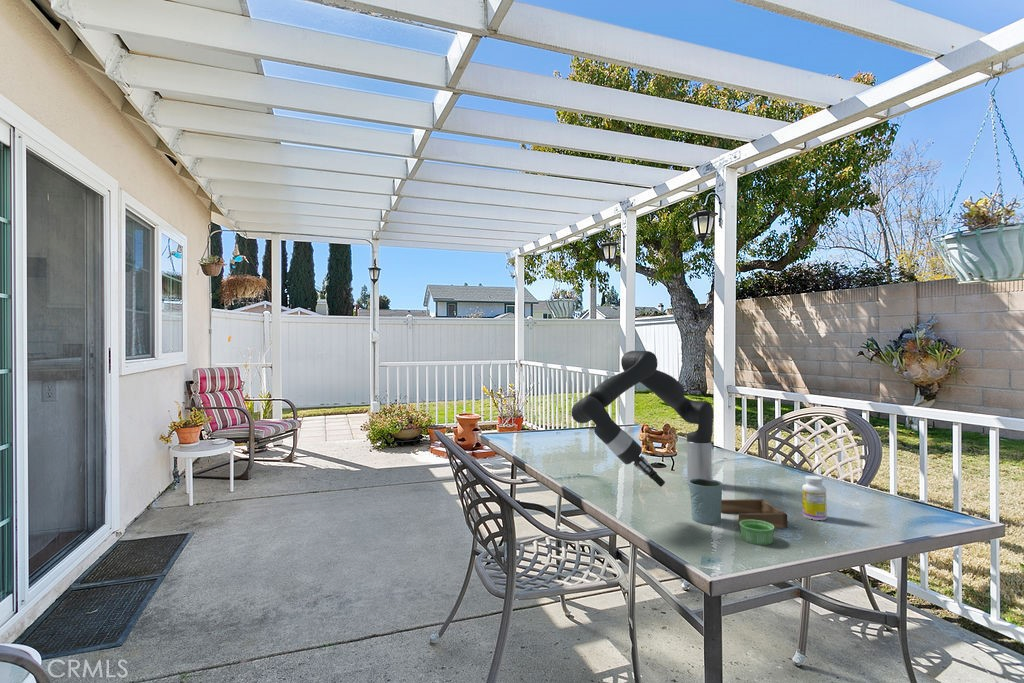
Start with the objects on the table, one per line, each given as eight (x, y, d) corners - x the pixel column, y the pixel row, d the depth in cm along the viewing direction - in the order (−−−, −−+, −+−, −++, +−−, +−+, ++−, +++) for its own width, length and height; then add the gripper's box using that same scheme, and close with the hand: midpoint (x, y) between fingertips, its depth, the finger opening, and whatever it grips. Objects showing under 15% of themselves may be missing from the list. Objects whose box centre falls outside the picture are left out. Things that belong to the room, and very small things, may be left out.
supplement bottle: (806, 512, 167) (805, 473, 167) (829, 517, 162) (828, 477, 162) (799, 517, 162) (799, 477, 162) (823, 522, 157) (822, 481, 158)
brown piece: (719, 511, 169) (719, 499, 169) (762, 511, 169) (762, 499, 169) (740, 528, 154) (740, 514, 154) (787, 527, 154) (787, 514, 154)
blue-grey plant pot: (702, 526, 155) (701, 487, 155) (682, 516, 165) (682, 479, 165) (730, 523, 158) (729, 484, 158) (709, 513, 168) (708, 476, 168)
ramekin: (749, 532, 151) (749, 517, 151) (780, 541, 143) (780, 525, 143) (733, 539, 145) (733, 523, 145) (764, 548, 138) (764, 532, 138)
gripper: (636, 441, 155) (677, 481, 155) (626, 434, 169) (664, 470, 168) (619, 459, 155) (660, 498, 155) (611, 450, 168) (648, 487, 168)
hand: (662, 484), depth 162 cm, fingers closed
